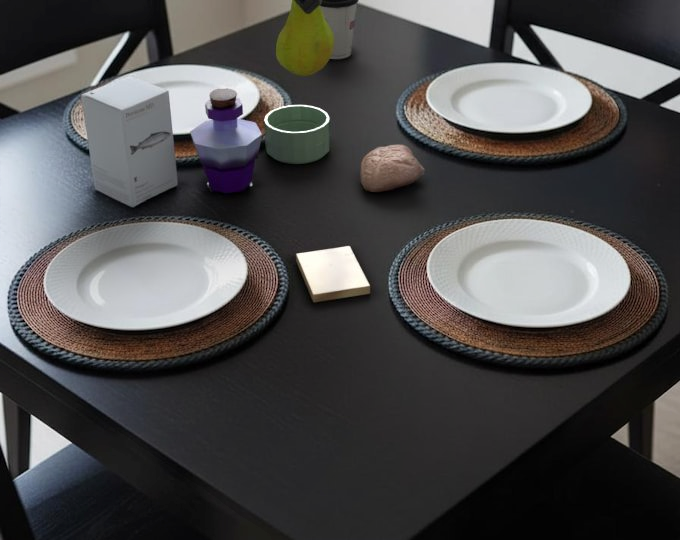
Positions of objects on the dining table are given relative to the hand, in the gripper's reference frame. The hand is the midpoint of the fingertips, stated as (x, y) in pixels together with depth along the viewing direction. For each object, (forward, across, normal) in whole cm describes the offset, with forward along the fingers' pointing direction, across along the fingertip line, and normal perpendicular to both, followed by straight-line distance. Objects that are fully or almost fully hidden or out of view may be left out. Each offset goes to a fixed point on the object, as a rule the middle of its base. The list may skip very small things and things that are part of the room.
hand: (321, 2), depth 110 cm
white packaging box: (+2, -4, +34) cm, 34 cm away
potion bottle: (+9, +1, +26) cm, 28 cm away
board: (+22, -14, +13) cm, 29 cm away
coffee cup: (+7, +44, +27) cm, 53 cm away
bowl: (+12, +12, +23) cm, 28 cm away
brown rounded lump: (+22, +8, +13) cm, 26 cm away
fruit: (+5, 0, +7) cm, 9 cm away
